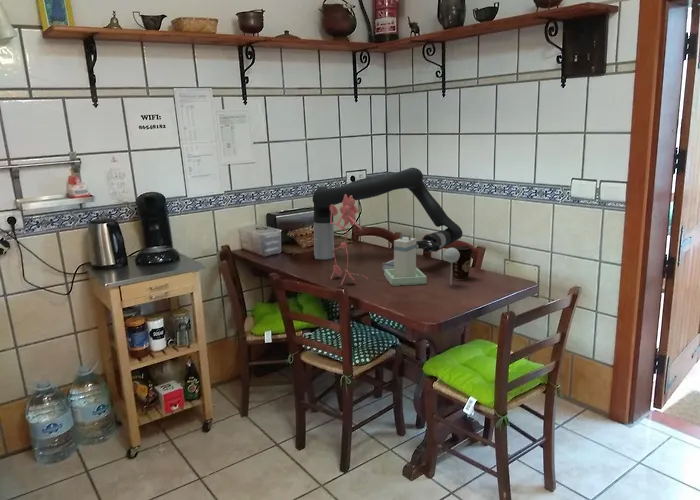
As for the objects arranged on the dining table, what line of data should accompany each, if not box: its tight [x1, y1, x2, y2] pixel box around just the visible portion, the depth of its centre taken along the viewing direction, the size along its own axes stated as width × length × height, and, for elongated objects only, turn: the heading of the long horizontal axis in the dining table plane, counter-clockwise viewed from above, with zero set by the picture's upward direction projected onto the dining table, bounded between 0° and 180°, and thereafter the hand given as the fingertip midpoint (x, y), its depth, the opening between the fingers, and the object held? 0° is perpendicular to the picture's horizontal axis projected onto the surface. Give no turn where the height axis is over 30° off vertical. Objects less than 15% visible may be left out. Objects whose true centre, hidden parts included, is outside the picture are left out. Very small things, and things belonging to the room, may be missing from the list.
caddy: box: [393, 233, 417, 278], centre depth 220 cm, size 8×6×18 cm
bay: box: [381, 259, 394, 272], centre depth 236 cm, size 10×9×4 cm
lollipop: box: [443, 247, 460, 286], centre depth 213 cm, size 6×6×15 cm
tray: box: [383, 267, 428, 287], centre depth 221 cm, size 14×14×3 cm
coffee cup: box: [452, 245, 474, 281], centre depth 222 cm, size 9×8×13 cm
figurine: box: [329, 194, 369, 286], centre depth 219 cm, size 15×26×35 cm, turn 29°
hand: (415, 248), depth 226 cm, fingers open, 8 cm apart
